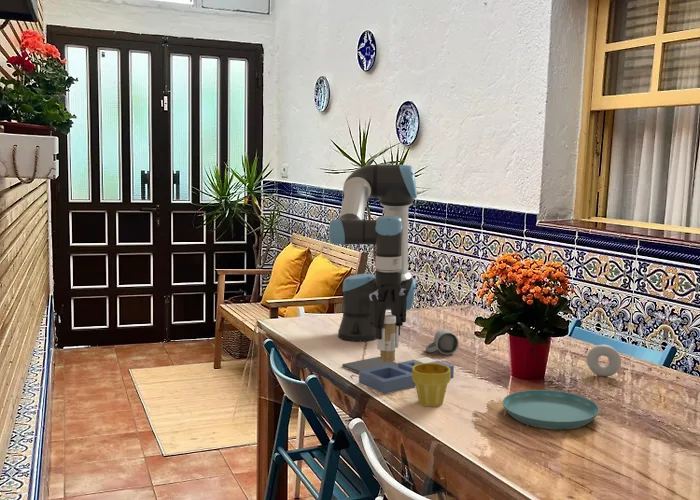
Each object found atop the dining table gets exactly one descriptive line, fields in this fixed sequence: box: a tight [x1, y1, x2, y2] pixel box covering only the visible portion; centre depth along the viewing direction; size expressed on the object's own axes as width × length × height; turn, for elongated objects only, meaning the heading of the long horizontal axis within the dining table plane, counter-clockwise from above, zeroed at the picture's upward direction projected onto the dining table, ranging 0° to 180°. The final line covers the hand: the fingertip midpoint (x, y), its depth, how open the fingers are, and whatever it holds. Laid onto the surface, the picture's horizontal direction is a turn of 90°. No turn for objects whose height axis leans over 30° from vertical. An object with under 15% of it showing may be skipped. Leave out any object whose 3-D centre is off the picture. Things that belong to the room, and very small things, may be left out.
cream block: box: [413, 356, 438, 366], centre depth 218 cm, size 5×5×5 cm
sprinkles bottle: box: [379, 313, 396, 362], centre depth 208 cm, size 5×5×14 cm
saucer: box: [502, 389, 600, 430], centre depth 185 cm, size 24×24×3 cm
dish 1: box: [358, 365, 416, 395], centre depth 209 cm, size 12×12×4 cm
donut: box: [586, 344, 622, 377], centre depth 217 cm, size 10×4×10 cm, turn 65°
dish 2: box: [397, 356, 455, 379], centre depth 218 cm, size 12×12×4 cm
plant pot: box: [412, 363, 451, 408], centre depth 194 cm, size 10×10×10 cm
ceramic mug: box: [425, 329, 460, 356], centre depth 245 cm, size 11×8×8 cm
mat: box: [341, 356, 399, 374], centre depth 226 cm, size 15×15×1 cm
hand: (387, 348), depth 209 cm, fingers closed on sprinkles bottle, 4 cm apart
